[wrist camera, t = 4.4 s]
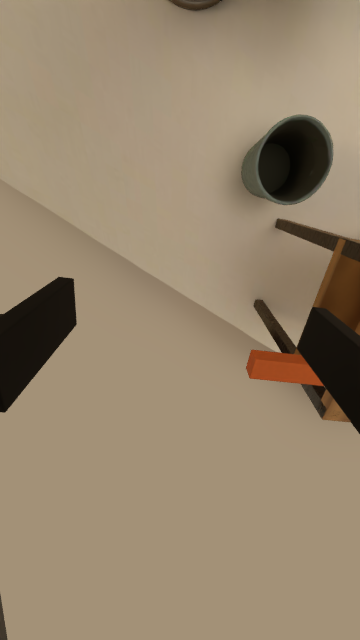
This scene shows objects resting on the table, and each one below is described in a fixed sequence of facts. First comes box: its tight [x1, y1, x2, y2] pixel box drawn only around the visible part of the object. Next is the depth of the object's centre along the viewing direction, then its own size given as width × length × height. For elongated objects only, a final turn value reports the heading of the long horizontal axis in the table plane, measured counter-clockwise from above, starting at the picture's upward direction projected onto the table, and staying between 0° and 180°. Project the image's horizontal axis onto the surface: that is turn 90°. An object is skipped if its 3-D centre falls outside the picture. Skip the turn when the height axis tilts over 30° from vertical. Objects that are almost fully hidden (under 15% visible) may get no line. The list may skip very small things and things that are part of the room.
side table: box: [254, 219, 360, 422], centre depth 38 cm, size 20×18×31 cm
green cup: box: [241, 115, 333, 205], centre depth 39 cm, size 10×10×12 cm
